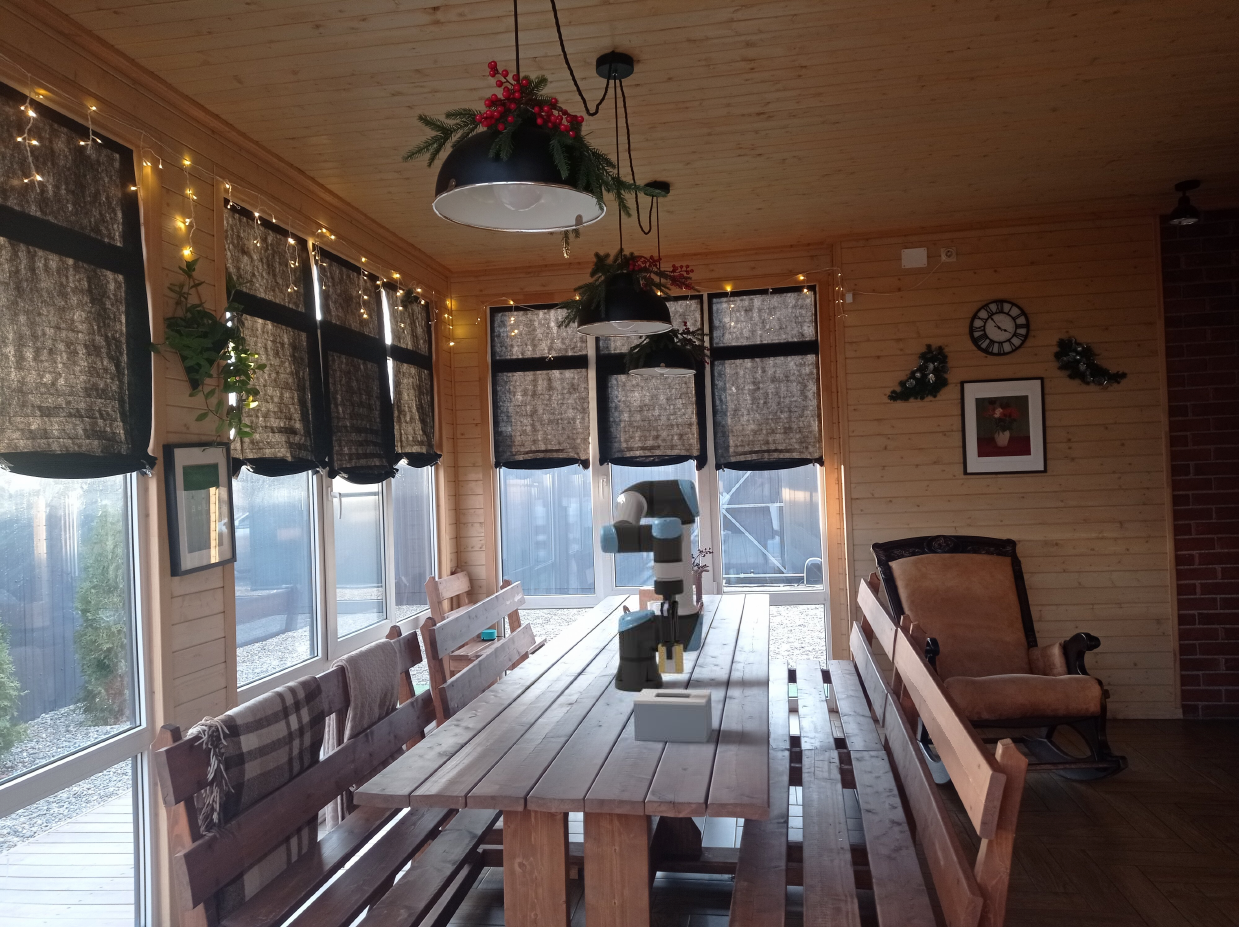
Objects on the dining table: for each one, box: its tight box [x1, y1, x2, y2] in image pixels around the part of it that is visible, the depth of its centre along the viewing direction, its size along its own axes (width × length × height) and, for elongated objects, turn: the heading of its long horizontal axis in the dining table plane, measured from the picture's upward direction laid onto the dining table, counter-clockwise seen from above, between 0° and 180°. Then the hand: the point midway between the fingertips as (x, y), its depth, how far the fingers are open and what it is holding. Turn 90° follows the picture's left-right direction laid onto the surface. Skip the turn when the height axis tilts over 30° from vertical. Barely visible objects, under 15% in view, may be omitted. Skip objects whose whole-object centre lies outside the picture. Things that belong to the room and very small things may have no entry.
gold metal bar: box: [657, 644, 685, 675], centre depth 234 cm, size 2×6×7 cm, turn 77°
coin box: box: [632, 688, 713, 744], centre depth 234 cm, size 12×18×10 cm, turn 77°
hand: (671, 670), depth 234 cm, fingers closed on gold metal bar, 2 cm apart
